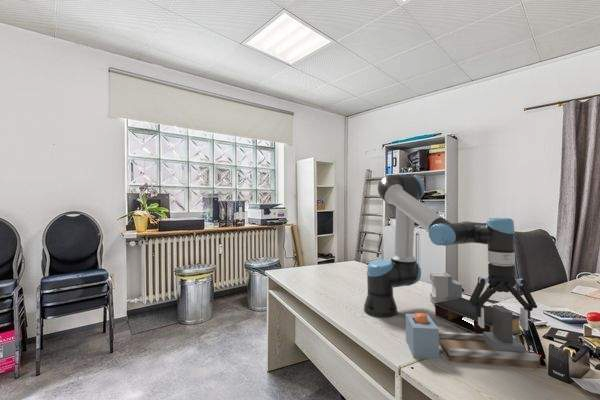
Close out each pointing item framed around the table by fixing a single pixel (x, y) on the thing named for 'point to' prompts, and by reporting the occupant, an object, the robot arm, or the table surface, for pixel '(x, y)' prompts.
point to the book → (468, 315)
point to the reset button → (420, 318)
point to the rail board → (480, 347)
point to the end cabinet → (422, 338)
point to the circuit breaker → (444, 288)
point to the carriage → (502, 332)
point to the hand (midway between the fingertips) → (502, 327)
